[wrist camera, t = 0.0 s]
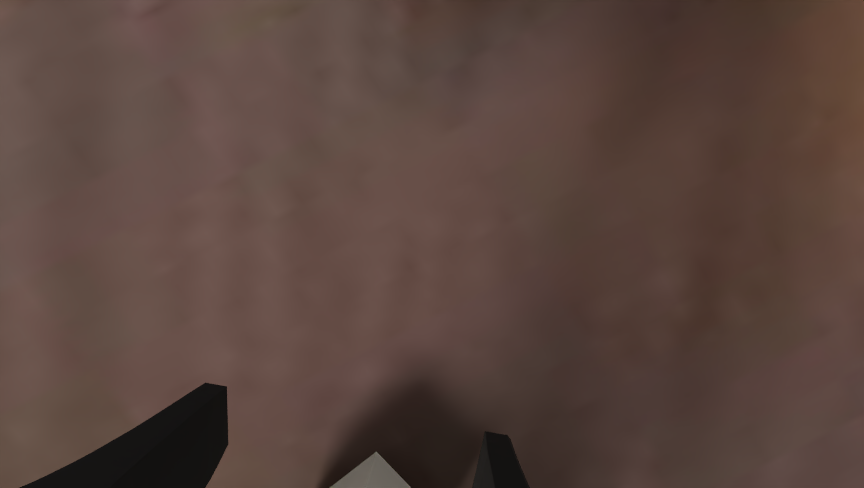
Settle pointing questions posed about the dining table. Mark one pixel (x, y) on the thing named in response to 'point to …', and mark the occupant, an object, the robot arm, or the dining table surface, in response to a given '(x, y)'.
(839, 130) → the dining table surface
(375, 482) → the limestone block
